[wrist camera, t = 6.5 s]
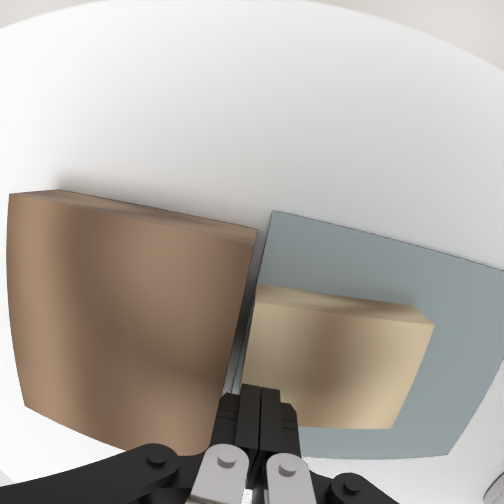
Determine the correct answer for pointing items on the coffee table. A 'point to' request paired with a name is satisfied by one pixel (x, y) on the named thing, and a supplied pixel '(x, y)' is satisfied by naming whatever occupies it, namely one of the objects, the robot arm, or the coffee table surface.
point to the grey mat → (401, 292)
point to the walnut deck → (123, 315)
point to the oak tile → (335, 355)
